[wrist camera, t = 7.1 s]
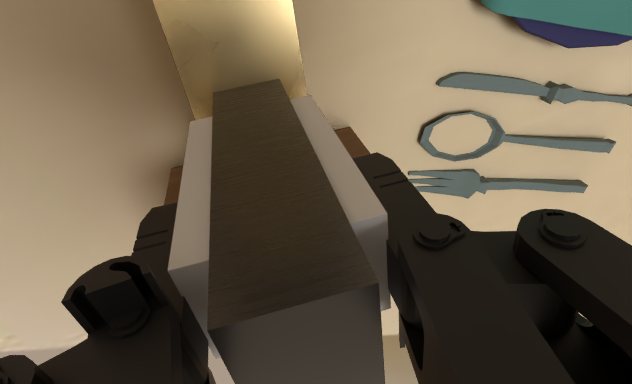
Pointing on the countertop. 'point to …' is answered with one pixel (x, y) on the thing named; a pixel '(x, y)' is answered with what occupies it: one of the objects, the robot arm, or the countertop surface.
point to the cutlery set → (534, 89)
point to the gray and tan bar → (272, 205)
